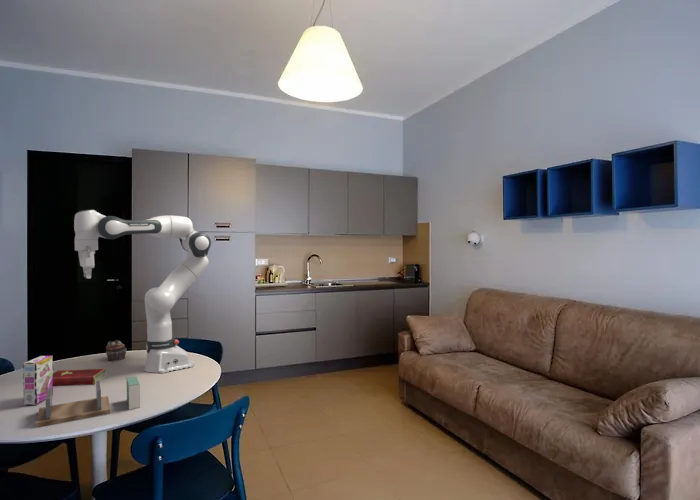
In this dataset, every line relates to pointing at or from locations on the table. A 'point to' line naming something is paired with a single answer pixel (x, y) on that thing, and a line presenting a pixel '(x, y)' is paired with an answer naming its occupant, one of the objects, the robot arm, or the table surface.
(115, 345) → the cupcake
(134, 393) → the book
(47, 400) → the bookends
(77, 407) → the shelf board
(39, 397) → the candy bar box
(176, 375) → the table surface
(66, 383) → the hardcover book
